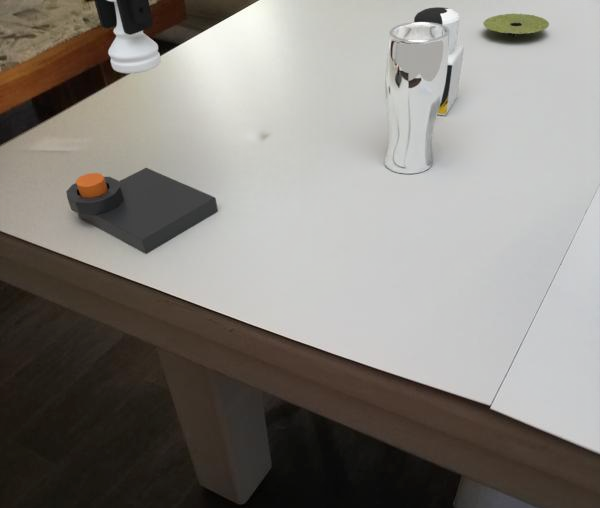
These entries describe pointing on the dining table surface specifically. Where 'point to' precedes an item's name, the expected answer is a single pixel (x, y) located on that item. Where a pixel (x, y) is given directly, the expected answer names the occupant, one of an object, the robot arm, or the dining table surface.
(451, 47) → the medicine bottle
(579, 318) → the dining table surface
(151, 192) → the dark grey button base
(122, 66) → the chess pawn
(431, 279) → the dining table surface
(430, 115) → the beer glass
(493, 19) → the green disc
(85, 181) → the tare button
